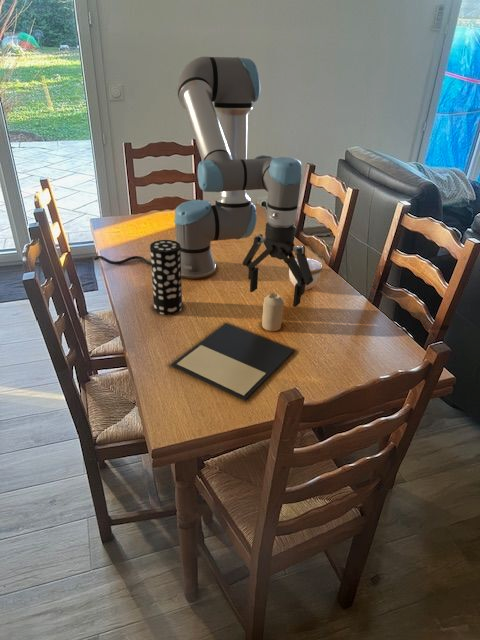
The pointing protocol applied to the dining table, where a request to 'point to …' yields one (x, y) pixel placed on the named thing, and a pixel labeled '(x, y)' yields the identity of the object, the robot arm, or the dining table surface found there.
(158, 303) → the spotted tube
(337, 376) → the dining table surface
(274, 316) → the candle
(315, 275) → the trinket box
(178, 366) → the table mat
